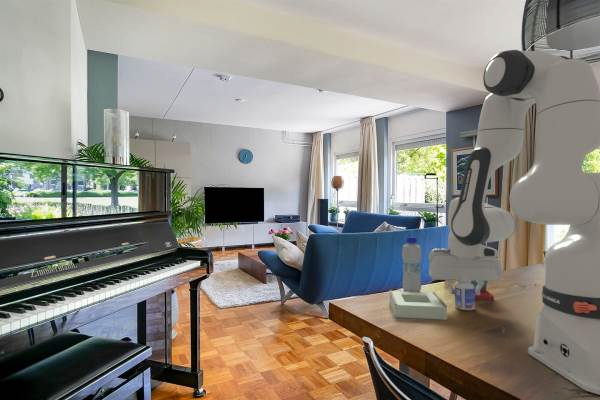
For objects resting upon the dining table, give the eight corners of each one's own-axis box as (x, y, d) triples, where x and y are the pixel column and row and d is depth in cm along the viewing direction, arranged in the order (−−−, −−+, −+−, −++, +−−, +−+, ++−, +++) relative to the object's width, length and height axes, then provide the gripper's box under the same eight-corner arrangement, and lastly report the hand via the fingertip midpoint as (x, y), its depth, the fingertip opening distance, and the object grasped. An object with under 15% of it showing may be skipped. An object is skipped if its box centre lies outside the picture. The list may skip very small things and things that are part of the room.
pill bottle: (475, 307, 102) (475, 275, 102) (473, 312, 97) (473, 279, 98) (456, 304, 105) (455, 273, 105) (453, 308, 100) (453, 276, 100)
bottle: (407, 288, 123) (407, 235, 123) (425, 292, 118) (424, 236, 118) (398, 292, 118) (398, 236, 118) (416, 296, 114) (416, 238, 114)
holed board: (447, 319, 92) (447, 306, 92) (395, 317, 94) (395, 303, 94) (434, 303, 106) (434, 291, 106) (389, 301, 108) (389, 290, 108)
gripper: (431, 250, 100) (431, 295, 100) (504, 251, 97) (504, 298, 97) (426, 247, 106) (426, 290, 106) (495, 248, 103) (495, 292, 103)
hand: (464, 294), depth 101 cm, fingers closed on pill bottle, 5 cm apart
